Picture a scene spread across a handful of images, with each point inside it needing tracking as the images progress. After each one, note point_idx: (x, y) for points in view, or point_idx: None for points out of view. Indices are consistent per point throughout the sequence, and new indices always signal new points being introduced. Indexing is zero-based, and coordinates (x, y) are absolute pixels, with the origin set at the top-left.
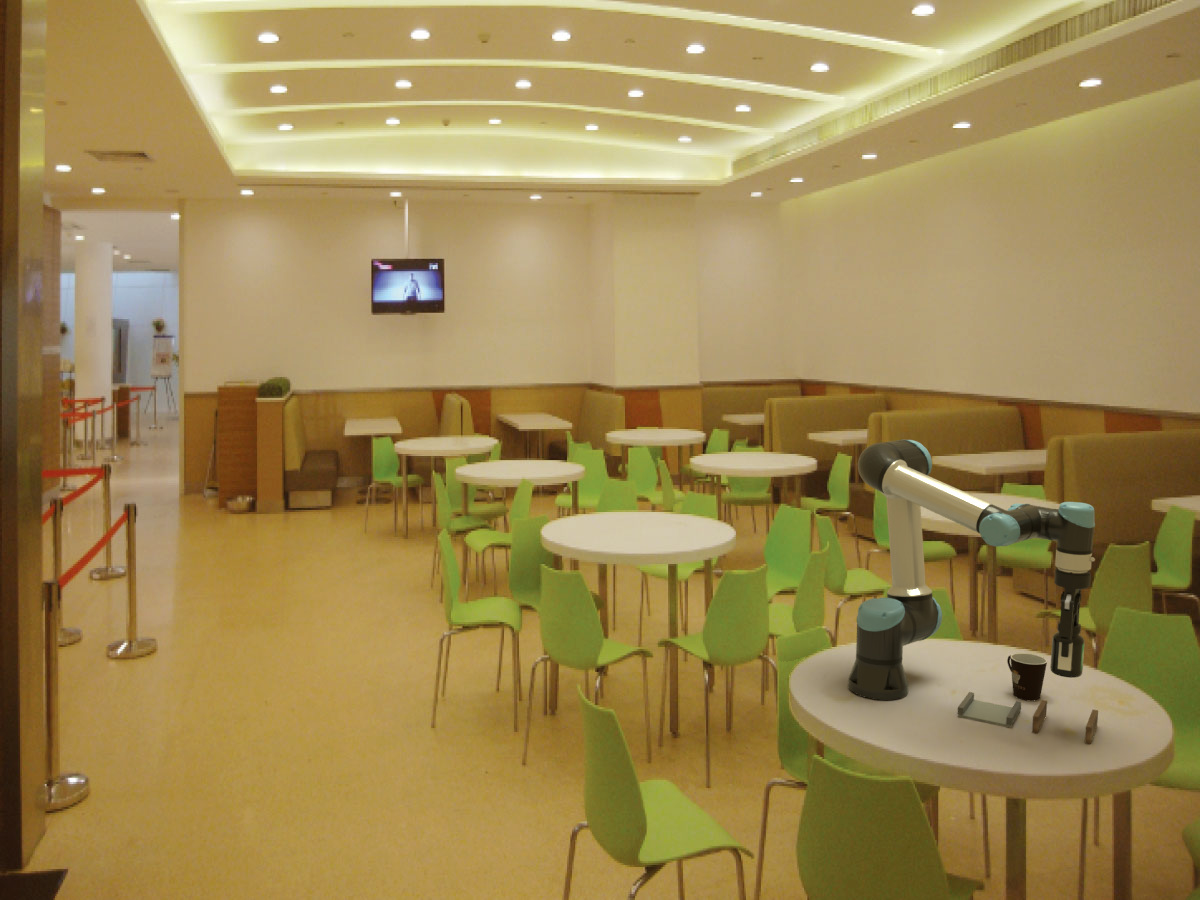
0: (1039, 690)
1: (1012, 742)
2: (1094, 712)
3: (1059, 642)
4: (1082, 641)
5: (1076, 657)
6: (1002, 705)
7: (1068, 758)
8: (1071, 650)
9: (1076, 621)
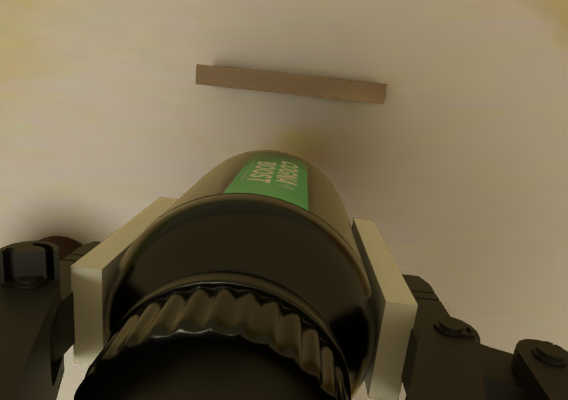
0: (59, 250)
1: (450, 288)
2: (224, 77)
3: (397, 395)
4: (298, 220)
5: (344, 216)
6: None
7: (514, 144)
8: (401, 277)
9: (25, 373)
